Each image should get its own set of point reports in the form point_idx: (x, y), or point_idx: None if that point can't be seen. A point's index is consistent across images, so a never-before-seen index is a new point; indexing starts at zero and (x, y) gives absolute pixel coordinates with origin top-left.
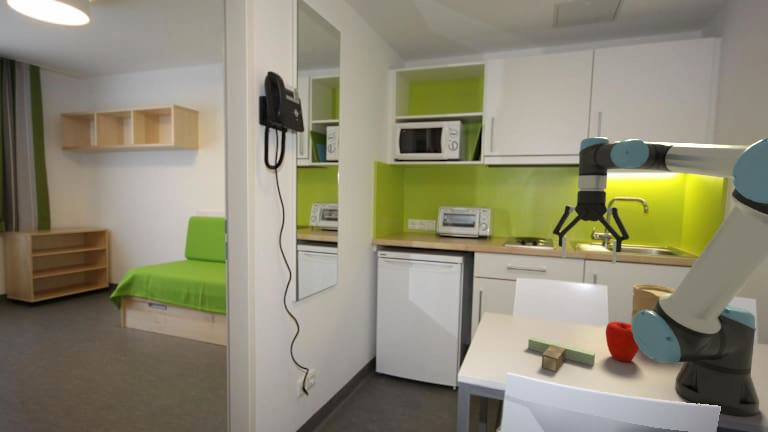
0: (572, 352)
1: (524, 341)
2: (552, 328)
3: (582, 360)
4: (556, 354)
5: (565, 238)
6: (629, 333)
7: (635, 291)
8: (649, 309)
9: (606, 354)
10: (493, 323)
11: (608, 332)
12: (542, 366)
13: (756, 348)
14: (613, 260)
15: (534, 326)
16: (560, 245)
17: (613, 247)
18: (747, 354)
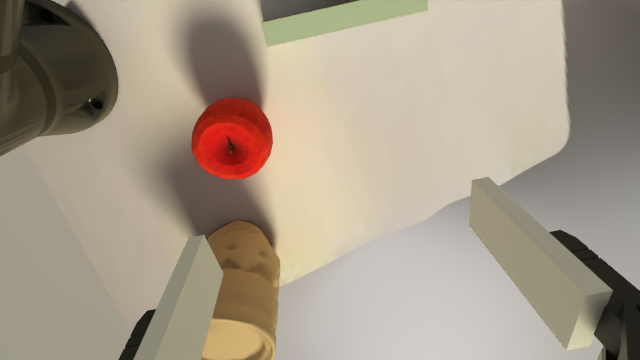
0: (310, 11)
1: (440, 30)
2: (412, 170)
3: (286, 16)
4: None
5: (569, 299)
6: (201, 119)
7: (260, 319)
8: (225, 279)
9: (272, 117)
10: (545, 86)
11: (255, 113)
12: None
13: None
14: (192, 249)
15: (449, 150)
16: (557, 237)
17: (164, 322)
18: None
